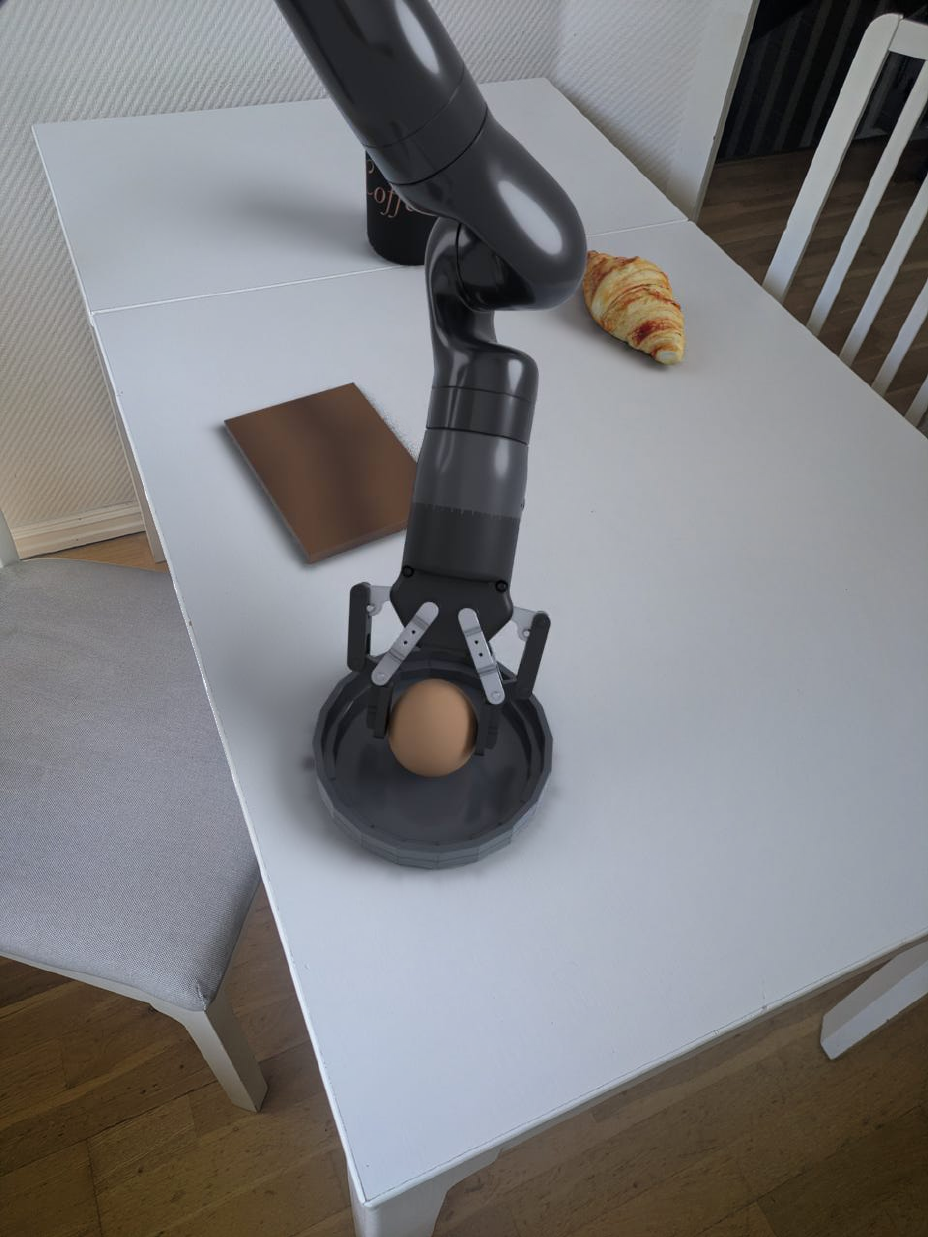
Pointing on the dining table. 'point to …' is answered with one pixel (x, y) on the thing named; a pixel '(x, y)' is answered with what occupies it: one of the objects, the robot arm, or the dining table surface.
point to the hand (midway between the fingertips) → (429, 744)
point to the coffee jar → (394, 221)
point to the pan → (430, 806)
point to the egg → (433, 728)
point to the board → (328, 469)
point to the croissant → (635, 304)
